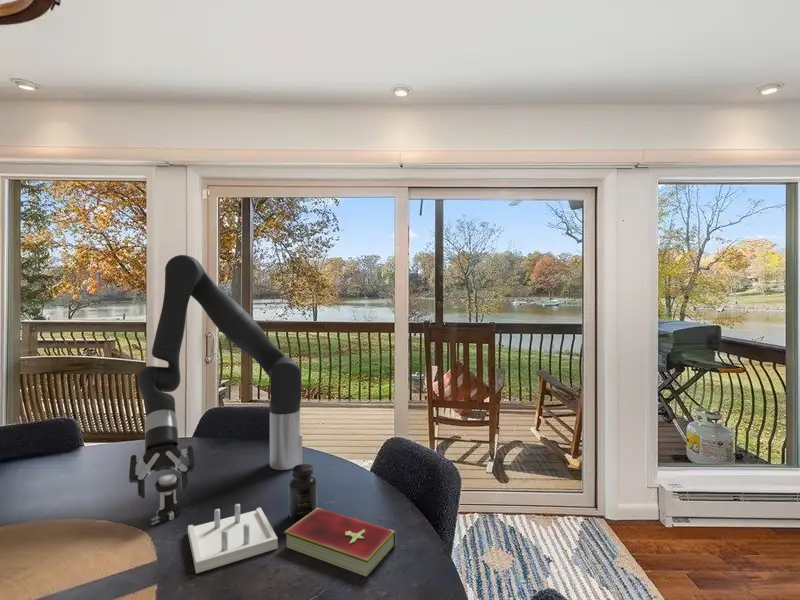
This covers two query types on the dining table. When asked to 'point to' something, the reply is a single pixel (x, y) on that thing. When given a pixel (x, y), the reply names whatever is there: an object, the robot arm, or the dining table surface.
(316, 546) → the hardcover book
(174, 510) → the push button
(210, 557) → the tray
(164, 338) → the robot arm
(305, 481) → the supplement bottle
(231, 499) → the dining table surface
